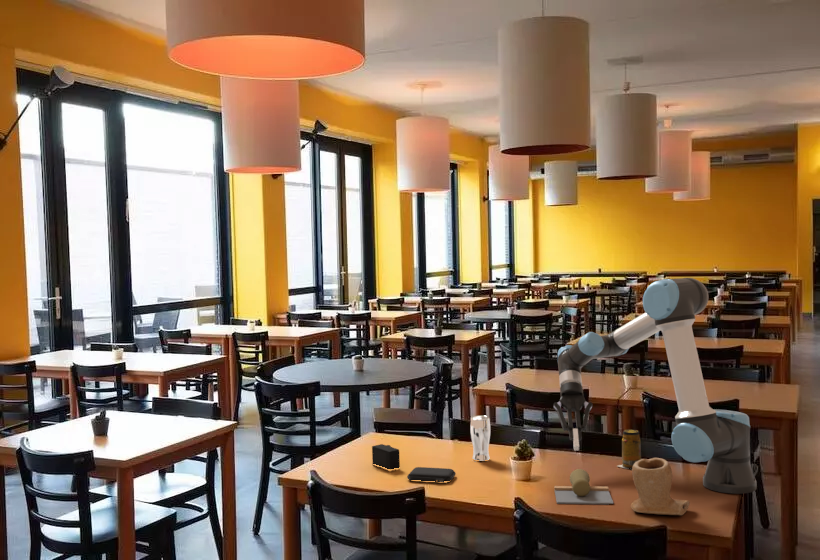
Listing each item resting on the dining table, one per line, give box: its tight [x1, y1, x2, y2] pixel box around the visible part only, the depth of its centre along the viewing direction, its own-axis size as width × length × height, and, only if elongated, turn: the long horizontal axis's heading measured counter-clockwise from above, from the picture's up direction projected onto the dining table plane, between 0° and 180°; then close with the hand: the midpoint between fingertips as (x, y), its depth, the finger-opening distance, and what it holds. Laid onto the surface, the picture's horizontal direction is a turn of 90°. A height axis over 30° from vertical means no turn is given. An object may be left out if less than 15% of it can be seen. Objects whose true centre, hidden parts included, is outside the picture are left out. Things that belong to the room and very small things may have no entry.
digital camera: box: [371, 443, 401, 469], centre depth 272 cm, size 10×5×7 cm, turn 37°
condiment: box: [617, 429, 642, 470], centre depth 264 cm, size 7×8×12 cm
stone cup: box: [630, 457, 690, 516], centre depth 218 cm, size 15×12×15 cm
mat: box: [553, 485, 614, 505], centre depth 234 cm, size 13×16×1 cm
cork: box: [569, 468, 591, 497], centre depth 237 cm, size 6×6×11 cm
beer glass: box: [470, 415, 491, 461], centre depth 278 cm, size 7×7×15 cm
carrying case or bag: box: [406, 466, 456, 482], centre depth 256 cm, size 11×3×15 cm
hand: (576, 448), depth 252 cm, fingers closed
